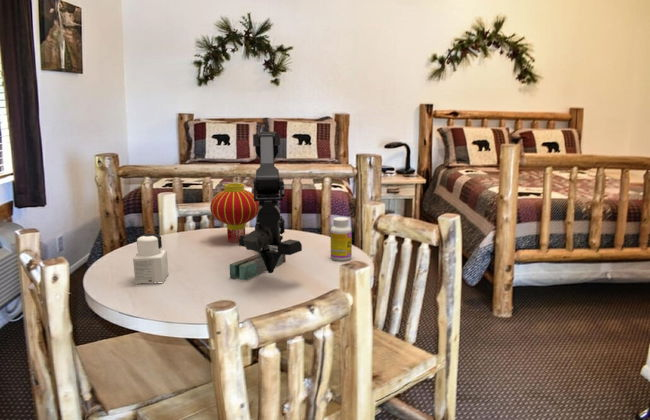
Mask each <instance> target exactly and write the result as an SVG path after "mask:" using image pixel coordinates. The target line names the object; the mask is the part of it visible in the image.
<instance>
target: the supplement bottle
mask: <svg viewBox="0 0 650 420" xmlns="http://www.w3.org/2000/svg"><path fill="white" fill-rule="evenodd" d="M349 221H350V220H349V218H348V217H345V216H344V217H343V216H337V217H334V218H333V224H334V225H333V226H331V228H330V258H331V259H332V260H333V261H337V260H338V261H340V262H343V261H349V260H350V259H352V250H353V247H352V246H353V245H352V243H353V242H352V240H353V239H352V237H353V236H352V235H353V232H352V227H351V226H349V225H348V224H349Z"/></svg>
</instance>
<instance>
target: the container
mask: <svg viewBox="0 0 650 420" xmlns="http://www.w3.org/2000/svg"><path fill="white" fill-rule="evenodd" d="M136 244H137V245H136V246H137V253H136V255H134V257H133V259H132V260H133V261H132V262H133V273H134V283H155V282H156V283H158V282H165V281H166V280H167V278H166V277H168V276H169V264H168V263H169V262H168V251H167V249H163V243H162V236H161V235H160V234H157V233H145V234H141V235H139V236H138V237H136ZM167 275H168V276H167ZM164 280H165V281H164Z"/></svg>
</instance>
